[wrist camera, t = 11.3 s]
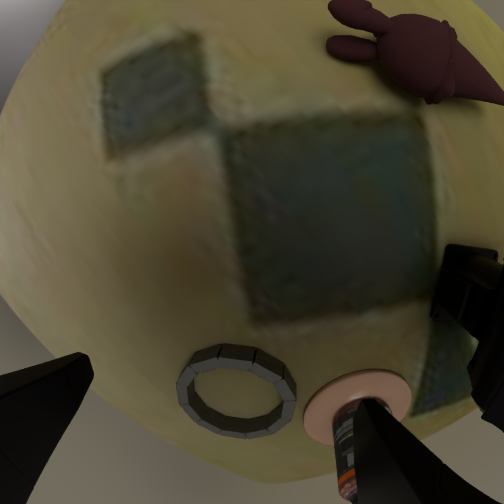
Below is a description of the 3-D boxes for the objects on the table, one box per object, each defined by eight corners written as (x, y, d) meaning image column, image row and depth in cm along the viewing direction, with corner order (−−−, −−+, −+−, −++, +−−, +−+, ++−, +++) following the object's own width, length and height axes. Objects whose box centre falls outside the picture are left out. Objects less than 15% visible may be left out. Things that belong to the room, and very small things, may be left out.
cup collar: (303, 351, 21) (303, 366, 19) (286, 428, 24) (286, 442, 22) (179, 336, 22) (171, 348, 20) (188, 414, 25) (182, 427, 23)
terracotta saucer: (424, 366, 20) (427, 371, 19) (387, 437, 23) (388, 442, 22) (315, 368, 21) (315, 373, 21) (295, 441, 24) (295, 446, 23)
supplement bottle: (371, 434, 22) (388, 520, 11) (321, 430, 22) (325, 526, 11) (400, 396, 20) (433, 489, 9) (346, 391, 21) (365, 500, 10)
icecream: (520, 51, 7) (332, -33, 9) (545, 127, 7) (322, 19, 9) (483, 88, 14) (328, 28, 16) (492, 157, 14) (316, 90, 16)
